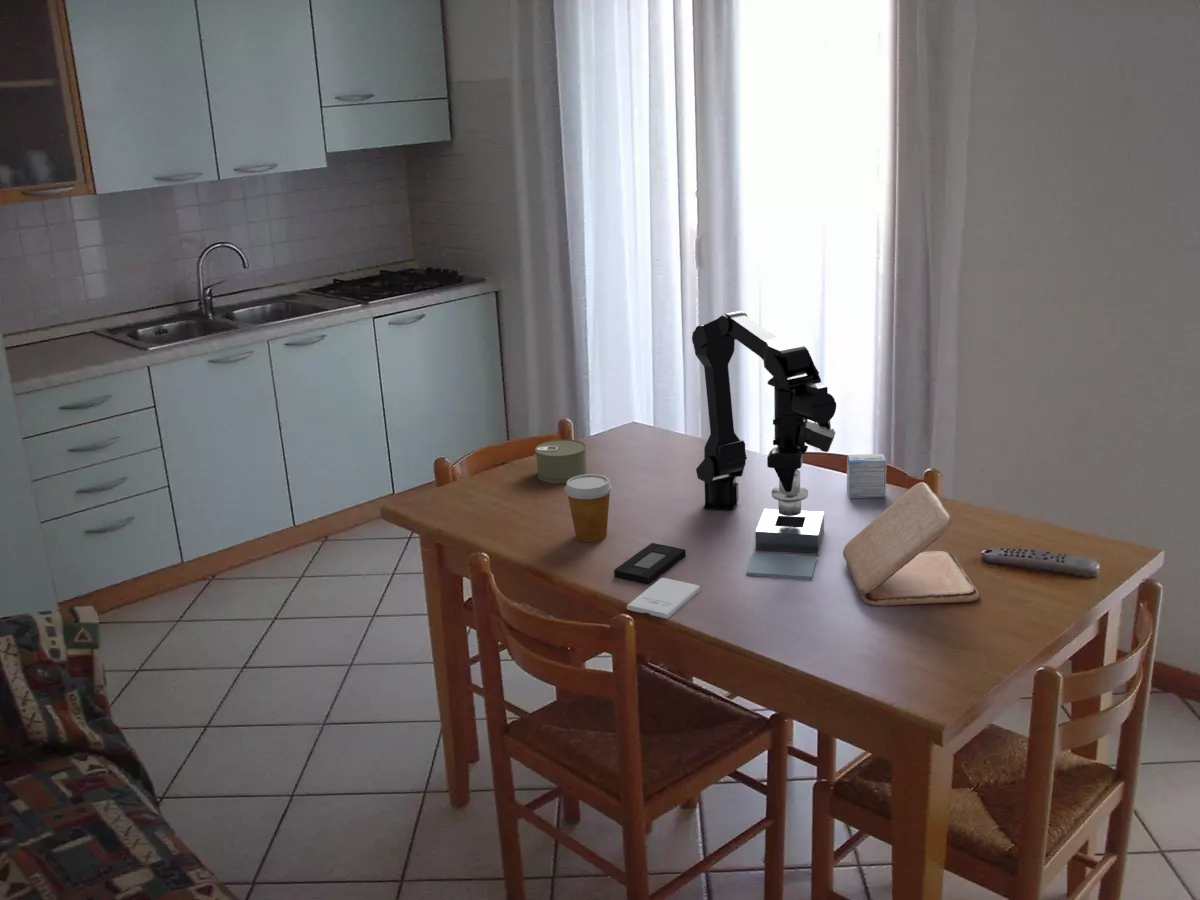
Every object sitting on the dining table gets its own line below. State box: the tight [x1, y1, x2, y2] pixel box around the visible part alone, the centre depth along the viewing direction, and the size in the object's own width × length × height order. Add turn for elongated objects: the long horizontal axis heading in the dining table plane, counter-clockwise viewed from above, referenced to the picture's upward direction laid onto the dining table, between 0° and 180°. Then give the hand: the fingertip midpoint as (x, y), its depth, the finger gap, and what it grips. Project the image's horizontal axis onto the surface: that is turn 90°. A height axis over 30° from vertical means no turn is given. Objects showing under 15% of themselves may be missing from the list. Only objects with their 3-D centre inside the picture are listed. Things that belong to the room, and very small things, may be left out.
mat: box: [746, 552, 818, 581], centre depth 215 cm, size 12×9×1 cm
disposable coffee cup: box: [564, 473, 613, 543], centre depth 232 cm, size 10×10×12 cm
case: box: [842, 481, 980, 607], centre depth 204 cm, size 20×21×16 cm
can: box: [534, 439, 588, 484], centre depth 270 cm, size 12×12×7 cm
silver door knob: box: [771, 469, 809, 516], centre depth 223 cm, size 7×7×8 cm
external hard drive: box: [626, 577, 701, 620], centre depth 205 cm, size 2×8×12 cm
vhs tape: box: [613, 542, 687, 586], centre depth 218 cm, size 8×14×2 cm, turn 147°
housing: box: [755, 508, 825, 555], centre depth 226 cm, size 12×12×4 cm
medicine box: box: [846, 453, 888, 499], centre depth 246 cm, size 8×4×9 cm, turn 84°
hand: (789, 487), depth 223 cm, fingers closed on silver door knob, 4 cm apart
